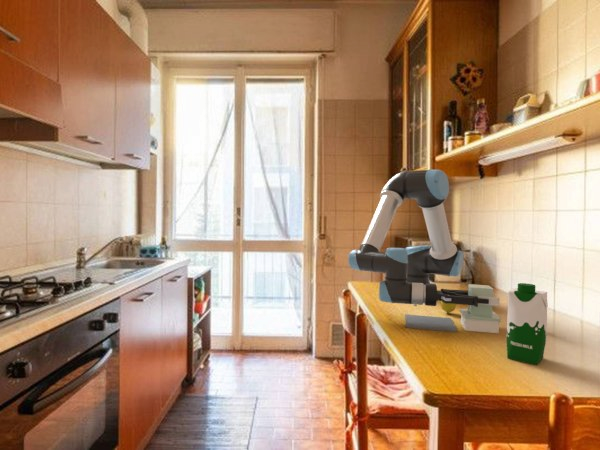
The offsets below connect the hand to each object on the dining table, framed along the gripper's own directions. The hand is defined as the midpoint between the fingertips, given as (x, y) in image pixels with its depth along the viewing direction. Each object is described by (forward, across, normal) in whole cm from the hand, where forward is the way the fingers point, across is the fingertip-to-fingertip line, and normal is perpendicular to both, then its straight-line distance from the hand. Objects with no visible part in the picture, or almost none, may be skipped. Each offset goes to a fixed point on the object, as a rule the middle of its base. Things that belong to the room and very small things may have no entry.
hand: (496, 299), depth 133 cm
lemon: (-13, -18, -10) cm, 24 cm away
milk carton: (+1, +28, -10) cm, 29 cm away
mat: (-21, 0, -10) cm, 23 cm away
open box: (-5, 0, -10) cm, 11 cm away
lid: (-5, 0, -6) cm, 8 cm away
